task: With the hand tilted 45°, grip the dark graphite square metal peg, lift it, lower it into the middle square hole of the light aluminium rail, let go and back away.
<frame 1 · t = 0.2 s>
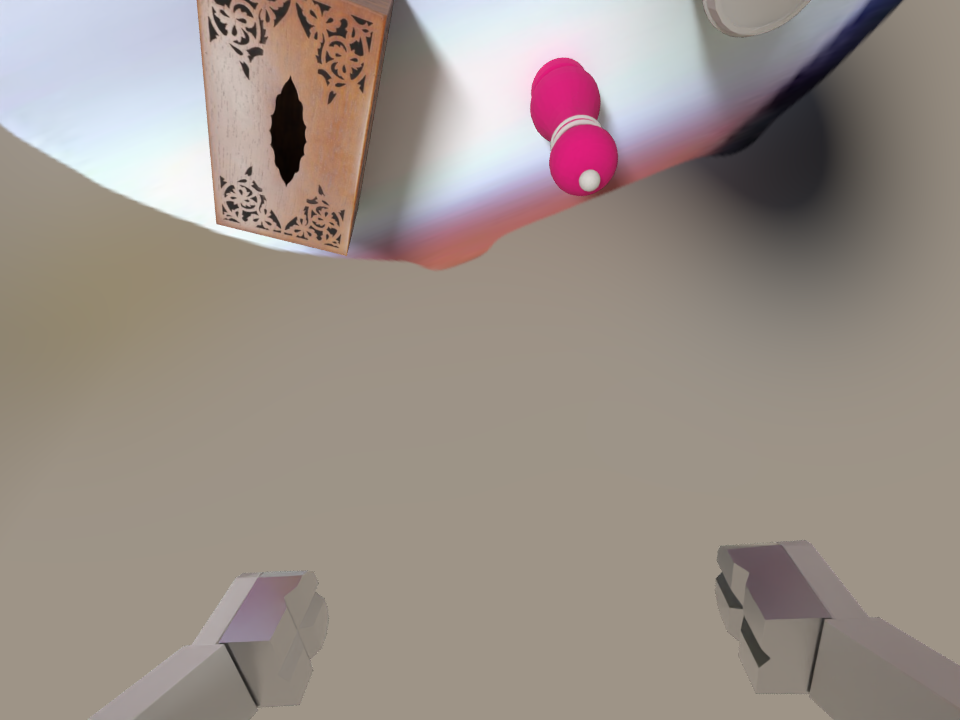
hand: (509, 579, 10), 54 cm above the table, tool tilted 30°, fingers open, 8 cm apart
tissue box cover: (309, 92, 52), on the table
pepper mill: (559, 88, 53), on the table
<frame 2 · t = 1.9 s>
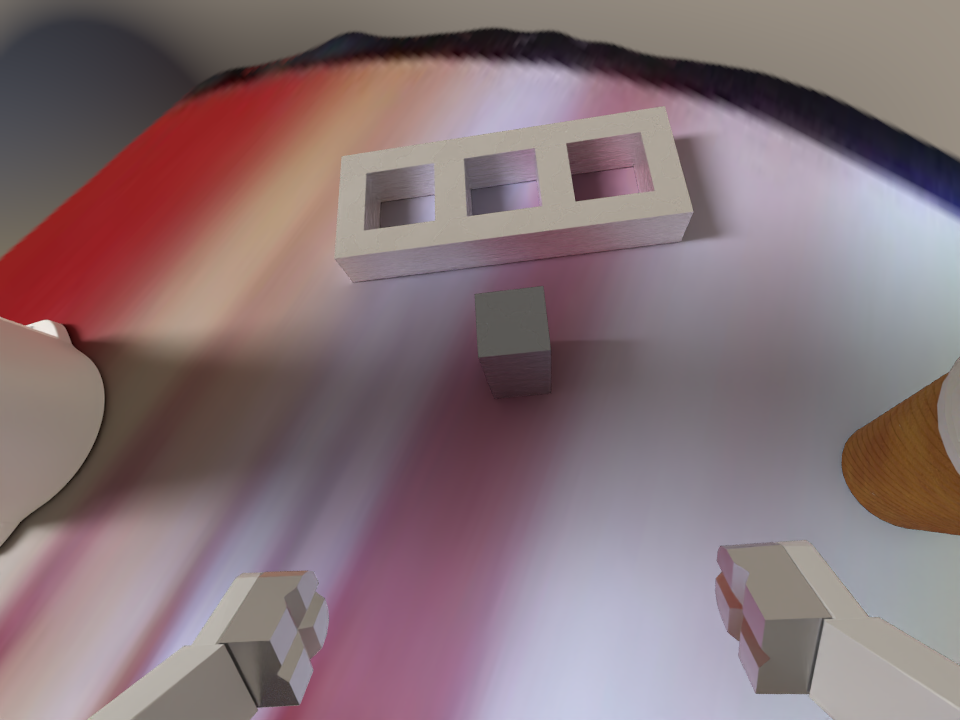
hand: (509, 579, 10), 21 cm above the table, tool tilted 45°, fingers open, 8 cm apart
disposable coffee cup: (897, 474, 28), on the table
rail: (505, 211, 39), on the table
peg: (520, 369, 34), on the table
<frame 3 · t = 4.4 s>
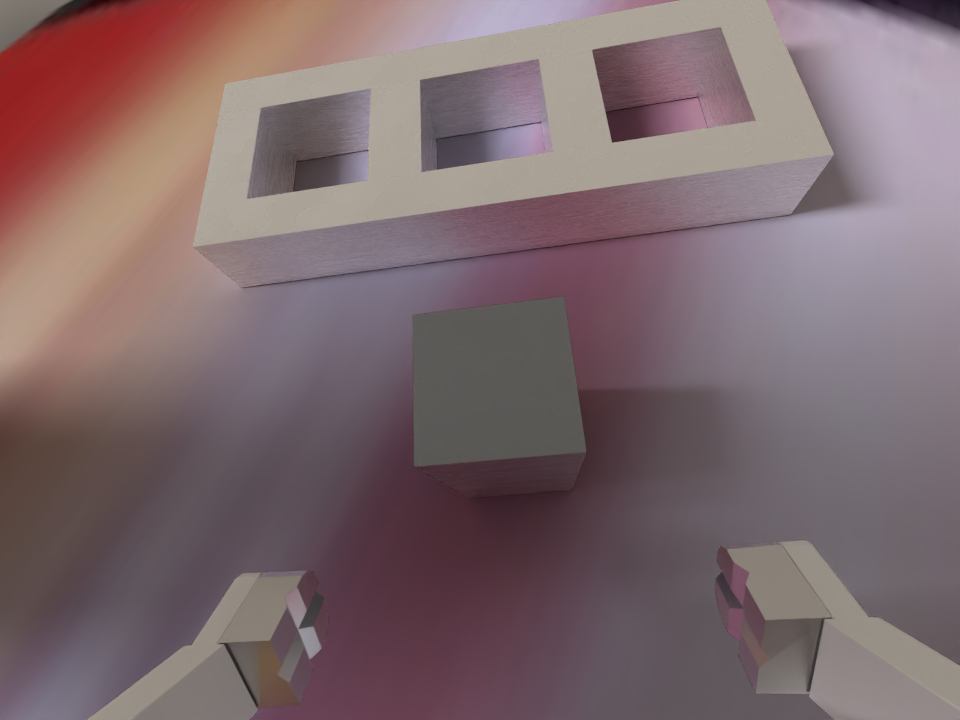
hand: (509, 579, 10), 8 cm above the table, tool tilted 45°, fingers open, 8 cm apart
rail: (491, 171, 24), on the table
peg: (515, 442, 19), on the table
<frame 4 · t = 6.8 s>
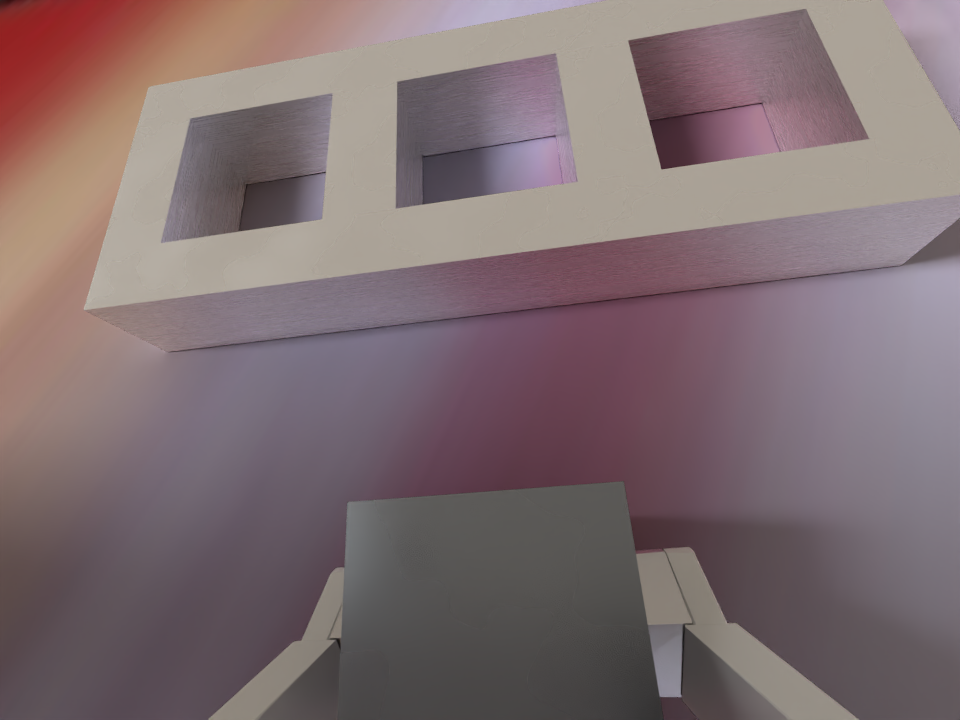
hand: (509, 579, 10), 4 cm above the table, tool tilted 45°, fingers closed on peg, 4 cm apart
rail: (492, 199, 19), on the table
peg: (525, 594, 13), on the table, touching gripper
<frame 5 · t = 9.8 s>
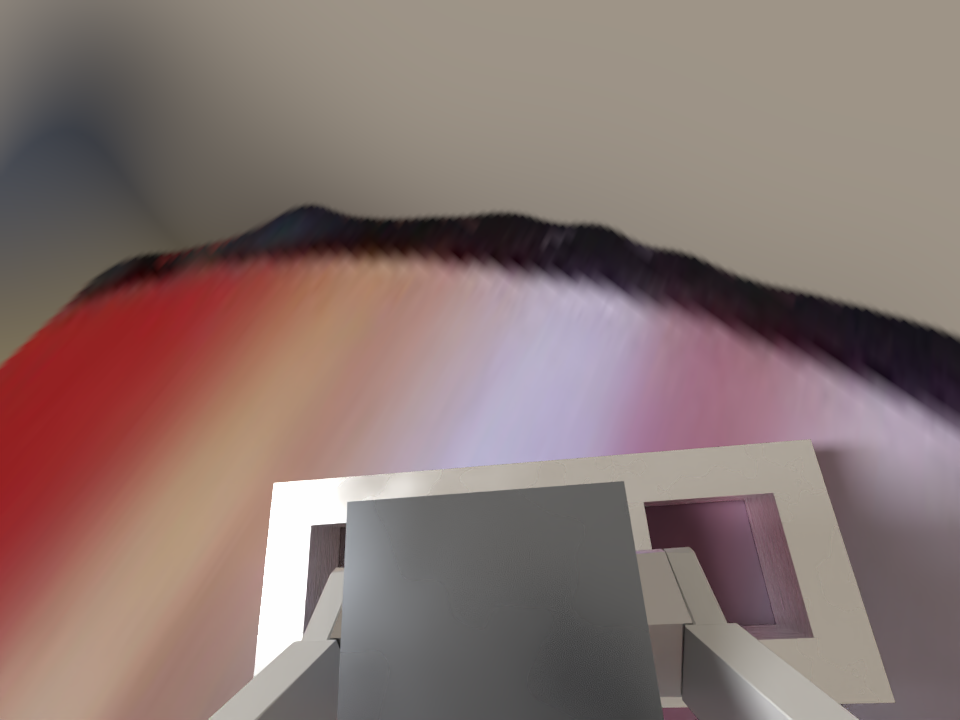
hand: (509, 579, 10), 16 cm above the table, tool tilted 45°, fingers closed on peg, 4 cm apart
rail: (537, 571, 24), on the table
peg: (525, 594, 13), point 12 cm above the table, touching gripper
when the fingers open (6 cm above the table, at t = 12.9 s): peg drops 2 cm, resting in rail.
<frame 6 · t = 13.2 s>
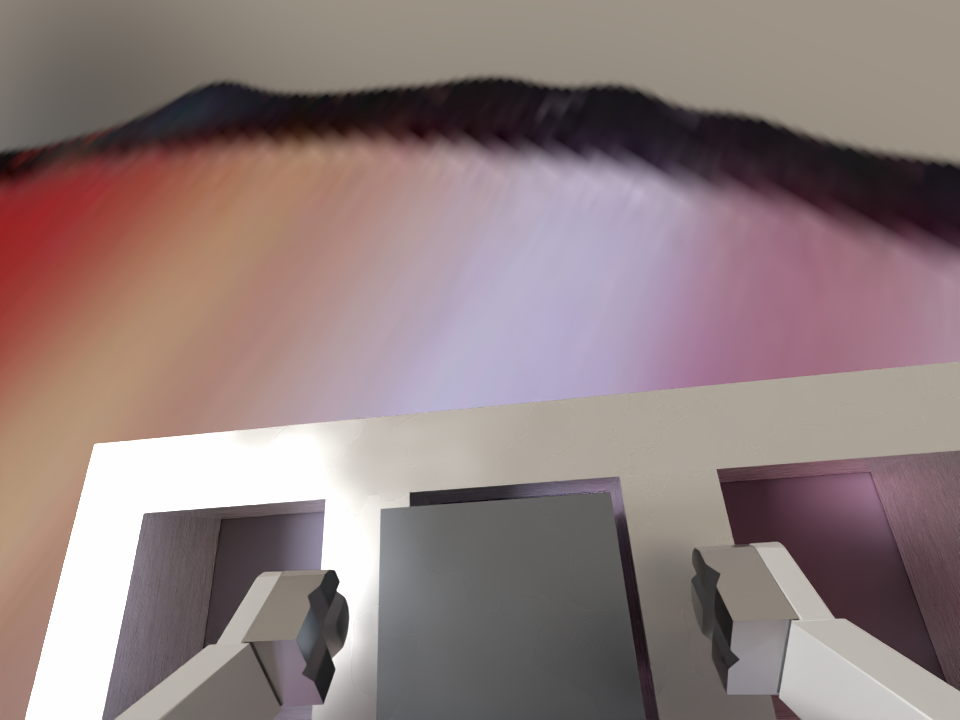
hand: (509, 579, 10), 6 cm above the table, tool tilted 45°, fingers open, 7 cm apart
rail: (528, 590, 15), on the table
peg: (527, 589, 15), resting in rail
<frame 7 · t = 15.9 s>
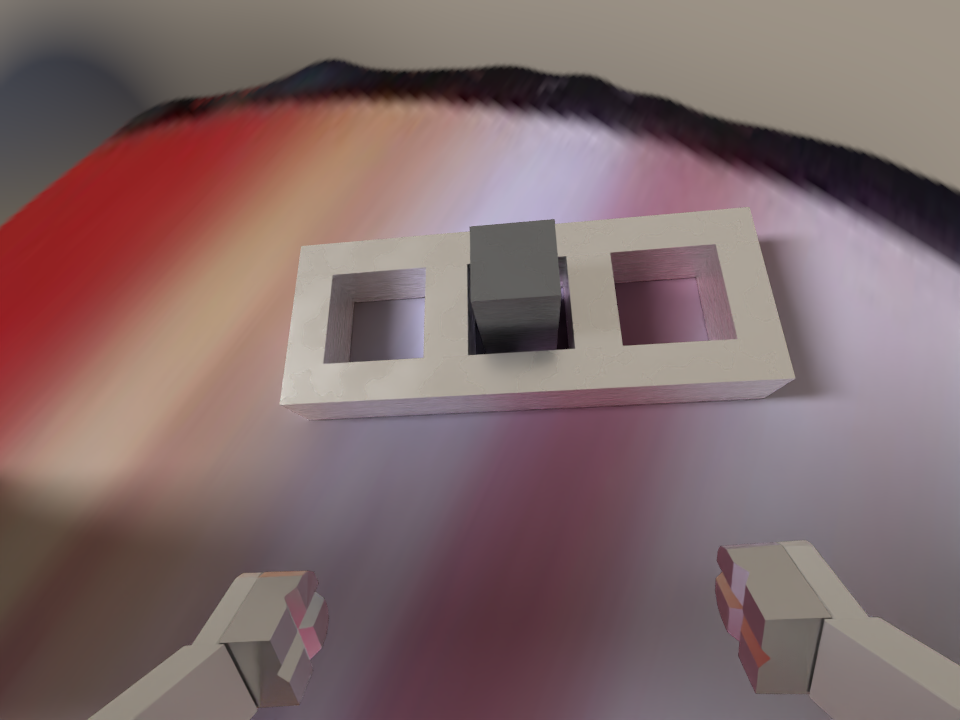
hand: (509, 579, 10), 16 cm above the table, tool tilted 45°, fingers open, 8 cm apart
rail: (520, 330, 29), on the table
peg: (520, 330, 29), resting in rail
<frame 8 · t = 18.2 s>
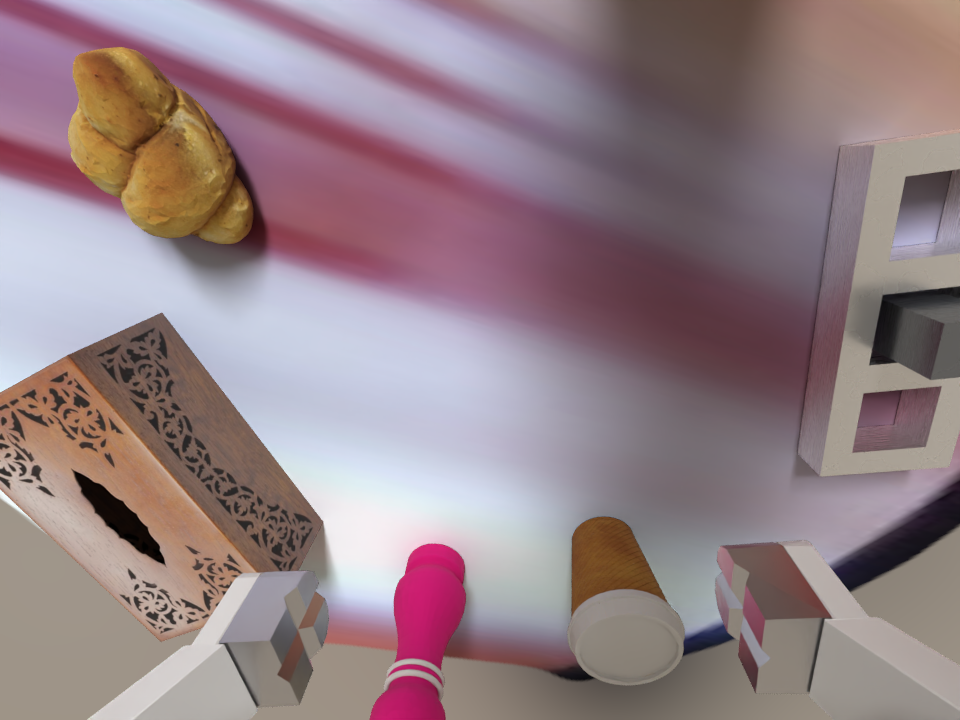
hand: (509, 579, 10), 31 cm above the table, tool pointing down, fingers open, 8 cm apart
disposable coffee cup: (602, 538, 49), on the table
rail: (882, 312, 38), on the table
peg: (882, 311, 38), resting in rail
tissue box cover: (196, 449, 48), on the table
pepper mill: (436, 563, 52), on the table
bread roll: (193, 167, 37), on the table
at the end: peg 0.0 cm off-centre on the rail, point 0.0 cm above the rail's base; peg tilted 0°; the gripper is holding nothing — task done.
